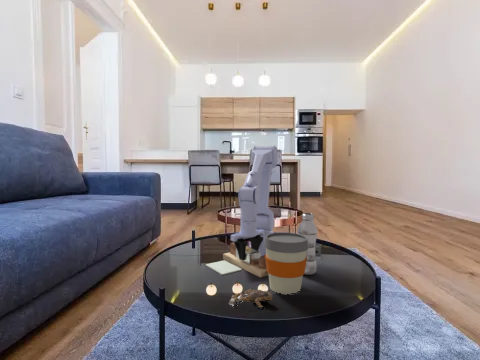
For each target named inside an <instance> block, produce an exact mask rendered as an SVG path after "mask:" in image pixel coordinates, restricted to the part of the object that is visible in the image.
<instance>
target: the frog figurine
mask: <svg viewBox="0 0 480 360" xmlns="http://www.w3.org/2000/svg"><path fill="white" fill-rule="evenodd" d="M273 296H274V295H273V294H272V293H271V292H270V290H265V291H264V290H262V289H253V288H249V289H247V290H245V291H244V292H238V293H236V294H233V295H231V299H230V300H229V302H228V305H230V306H231V305H232V306H231V307H233V306H234V304H236V302H239V301H242V302H254V303H256V304H255V305H256V306H257V305H258V307H264V306H263V305H262V304H261V301H264V300H270V301H271V300H273ZM259 301H260V302H259ZM242 302H241V303H242ZM236 305H237V304H236Z"/></svg>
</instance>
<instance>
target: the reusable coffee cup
mask: <svg viewBox="0 0 480 360" xmlns="http://www.w3.org/2000/svg"><path fill="white" fill-rule="evenodd" d="M264 246H265V248H266V255H264V257H265V258H266V268H267V272H268V273H269V275H268V282H269V289H270V290H271V291H272V292H274V293H276V292H277V294H279V293H281V295H287V294H289V295H291V294H290V293H296V292H298V291H300V292H301V290H302V284H303V276H304V275H305V268H306V261H307V257H306V251H307V250H308V240H307V237H305V236H303V235H300V234H298V233H294V232H283V231H282V232H274V233H271V234H268V235H266V237H265V245H264ZM300 289H301V290H300ZM298 293H299V292H298ZM296 294H297V293H296Z"/></svg>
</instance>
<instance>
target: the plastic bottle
mask: <svg viewBox="0 0 480 360" xmlns="http://www.w3.org/2000/svg"><path fill="white" fill-rule="evenodd" d="M301 220H302V221H301V222H300V224H299V226H298V227H297V234H300V235H303V236H305V237H307V240H308V250H307V251H306V257H307V261H306V268H305V274H304V275H307V276H308V275H309V276H310V275H314V274H315V273H316V272H317V268H318V266H317V260H316V259H317V258H316V245H317V244H316V243H317V242H316V241H317V237H318V228H317V225H316V224H315V222H314V213H312V212H303V213H302V216H301Z"/></svg>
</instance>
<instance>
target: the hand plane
mask: <svg viewBox="0 0 480 360" xmlns="http://www.w3.org/2000/svg"><path fill="white" fill-rule="evenodd" d="M236 249H237V248H236V246H235V244H234V242H233V241H232V242H230V250H229V251H230V252H225V253H223V254H222V260H225V261H227V262H229V263H231V264H233V265H235V266H237V267H239V268H241V269H242V270H245V271H246V272H249V274H252V275H255V276H257V277H259V278H263V277H267V276H268V277H269V273H268V272H267V268H266V258H265V256H261V257H259V260H256V261H252V262H251V264H250V265H249V264H247V263H245V262H243V261H241V260H239V259H236Z"/></svg>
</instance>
